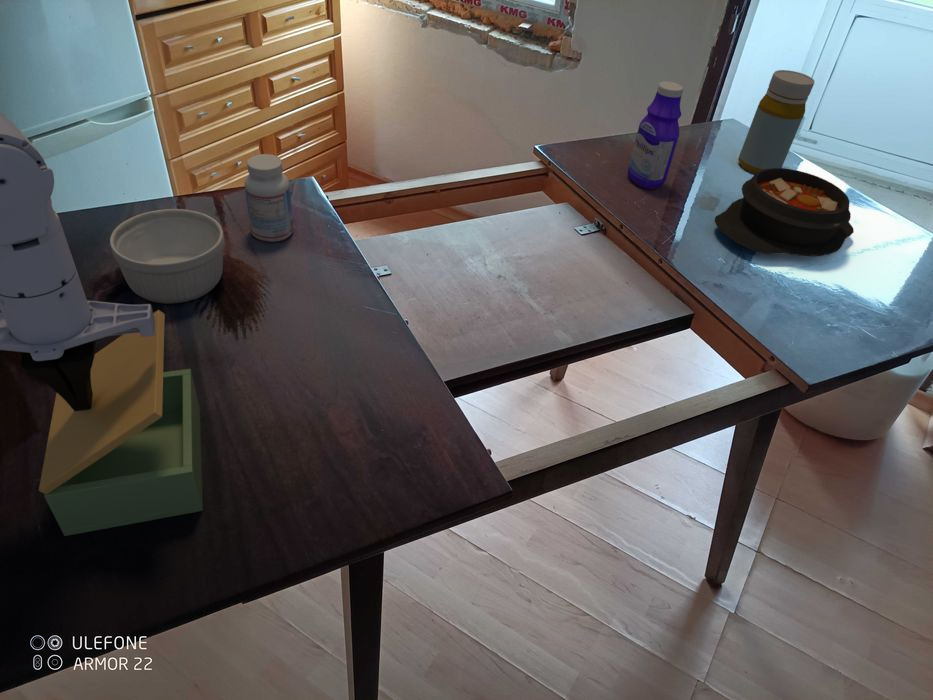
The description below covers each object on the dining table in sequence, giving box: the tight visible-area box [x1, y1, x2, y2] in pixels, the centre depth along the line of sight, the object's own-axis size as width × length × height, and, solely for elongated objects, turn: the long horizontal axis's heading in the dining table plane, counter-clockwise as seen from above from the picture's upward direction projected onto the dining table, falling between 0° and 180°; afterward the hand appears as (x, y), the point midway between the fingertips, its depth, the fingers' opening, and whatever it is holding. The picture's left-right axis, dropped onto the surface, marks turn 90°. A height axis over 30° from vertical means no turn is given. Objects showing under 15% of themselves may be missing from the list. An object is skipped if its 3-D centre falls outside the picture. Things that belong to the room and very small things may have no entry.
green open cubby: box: [43, 368, 204, 537], centre depth 65 cm, size 12×14×6 cm
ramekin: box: [109, 208, 225, 305], centre depth 88 cm, size 13×13×7 cm
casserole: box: [714, 168, 854, 257], centre depth 111 cm, size 25×19×8 cm
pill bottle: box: [244, 153, 294, 243], centre depth 97 cm, size 6×6×11 cm
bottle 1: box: [627, 81, 684, 190], centre depth 119 cm, size 7×6×17 cm
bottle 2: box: [737, 69, 815, 175], centre depth 128 cm, size 8×8×17 cm
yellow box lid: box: [38, 309, 166, 495], centre depth 60 cm, size 12×14×1 cm
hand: (83, 402), depth 60 cm, fingers closed
